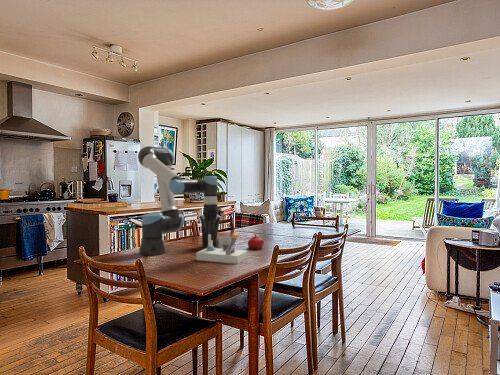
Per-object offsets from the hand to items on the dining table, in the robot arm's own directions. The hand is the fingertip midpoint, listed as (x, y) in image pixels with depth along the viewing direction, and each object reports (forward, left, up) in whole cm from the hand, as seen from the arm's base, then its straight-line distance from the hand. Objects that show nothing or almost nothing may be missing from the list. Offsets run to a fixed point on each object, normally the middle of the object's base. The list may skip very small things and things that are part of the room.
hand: (210, 246), depth 189 cm
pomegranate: (+16, +31, -6) cm, 36 cm away
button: (0, 0, -5) cm, 5 cm away
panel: (+8, -2, -6) cm, 10 cm away
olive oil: (-14, +27, -6) cm, 31 cm away
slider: (+9, +2, -2) cm, 9 cm away
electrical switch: (+1, +15, -6) cm, 16 cm away
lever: (+14, -5, -1) cm, 15 cm away
